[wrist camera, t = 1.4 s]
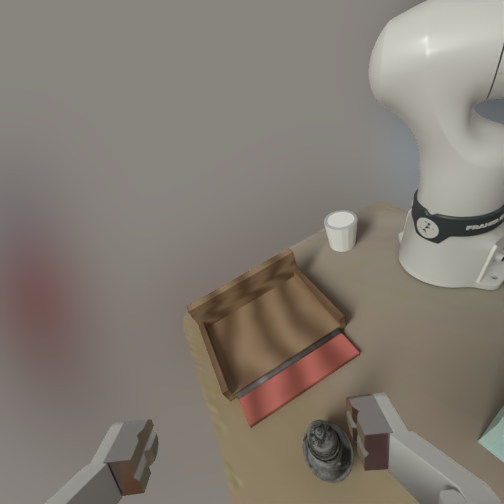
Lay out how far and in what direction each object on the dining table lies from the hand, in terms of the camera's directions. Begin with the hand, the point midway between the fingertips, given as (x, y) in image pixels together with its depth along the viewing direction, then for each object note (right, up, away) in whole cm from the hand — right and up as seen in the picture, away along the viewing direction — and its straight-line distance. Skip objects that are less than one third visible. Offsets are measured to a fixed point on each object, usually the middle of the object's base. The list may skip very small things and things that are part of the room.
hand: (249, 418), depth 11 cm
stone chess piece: (+10, -19, +23) cm, 32 cm away
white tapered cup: (+21, +9, +49) cm, 54 cm away
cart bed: (+4, -9, +37) cm, 38 cm away
